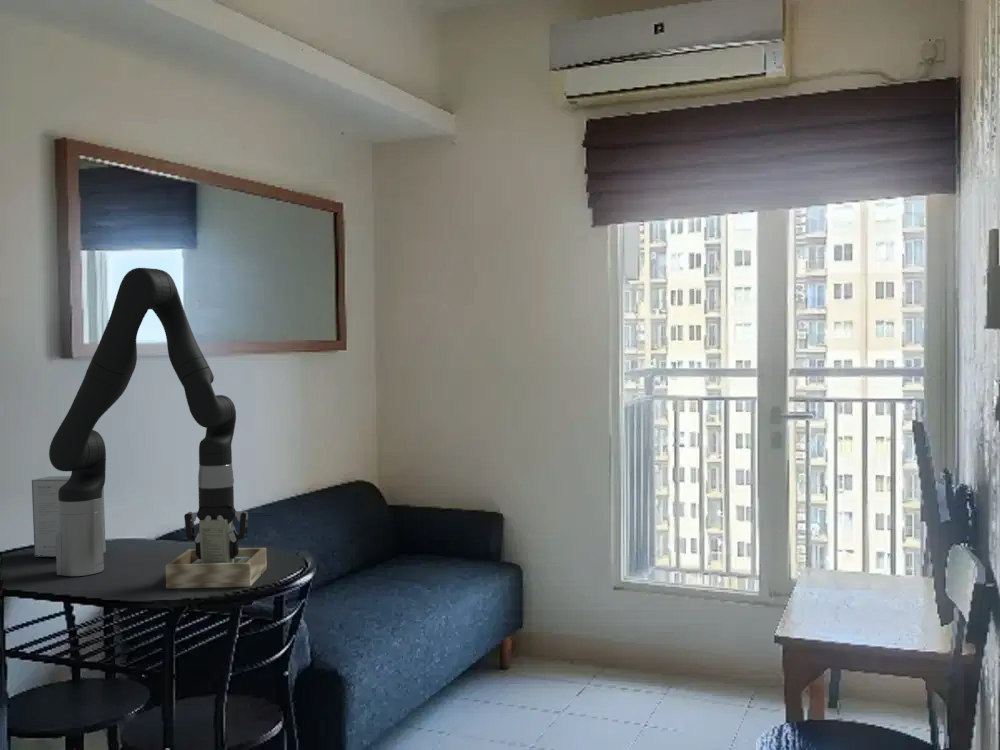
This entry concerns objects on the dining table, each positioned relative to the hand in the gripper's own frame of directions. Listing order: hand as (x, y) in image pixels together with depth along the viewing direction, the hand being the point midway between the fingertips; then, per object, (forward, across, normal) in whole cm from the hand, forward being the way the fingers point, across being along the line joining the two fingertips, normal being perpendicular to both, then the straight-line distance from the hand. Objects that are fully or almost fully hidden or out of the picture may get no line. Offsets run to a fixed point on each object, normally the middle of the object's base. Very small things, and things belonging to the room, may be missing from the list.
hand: (217, 558), depth 206 cm
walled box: (+5, 0, 0) cm, 5 cm away
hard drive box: (+5, -45, +28) cm, 53 cm away
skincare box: (+3, 0, 0) cm, 3 cm away
